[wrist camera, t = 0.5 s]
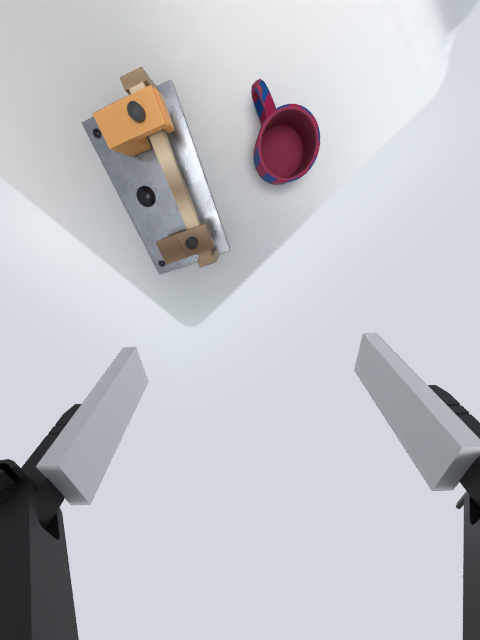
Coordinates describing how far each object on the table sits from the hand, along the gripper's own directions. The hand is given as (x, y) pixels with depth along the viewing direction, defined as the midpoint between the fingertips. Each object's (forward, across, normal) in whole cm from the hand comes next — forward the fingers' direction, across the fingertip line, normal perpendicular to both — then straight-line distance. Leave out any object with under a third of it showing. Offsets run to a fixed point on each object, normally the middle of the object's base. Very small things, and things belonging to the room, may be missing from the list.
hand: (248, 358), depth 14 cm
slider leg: (+25, -11, +16) cm, 31 cm away
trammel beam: (+25, -9, +9) cm, 28 cm away
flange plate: (+26, -10, +9) cm, 30 cm away
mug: (+27, +5, +14) cm, 31 cm away
